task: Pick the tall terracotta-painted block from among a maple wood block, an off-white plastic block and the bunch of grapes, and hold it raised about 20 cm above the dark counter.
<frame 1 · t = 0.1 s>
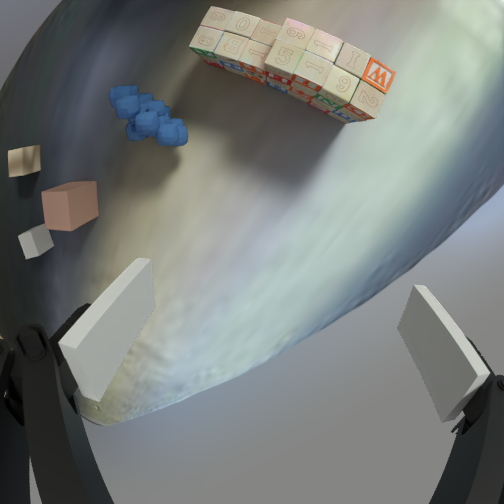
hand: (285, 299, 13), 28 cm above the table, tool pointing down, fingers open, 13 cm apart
terracotta block: (84, 198, 41), on the table
maple block: (32, 158, 38), on the table
grapes: (162, 122, 36), on the table
stack of blocks: (285, 72, 32), on the table
off-white plastic block: (43, 236, 45), on the table
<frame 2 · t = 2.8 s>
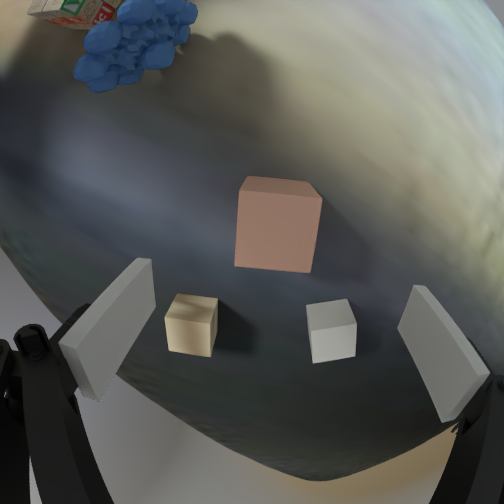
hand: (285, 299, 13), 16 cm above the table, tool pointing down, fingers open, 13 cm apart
terracotta block: (275, 207, 28), on the table
maple block: (197, 312, 34), on the table
grapes: (169, 61, 23), on the table
off-white plastic block: (327, 318, 33), on the table
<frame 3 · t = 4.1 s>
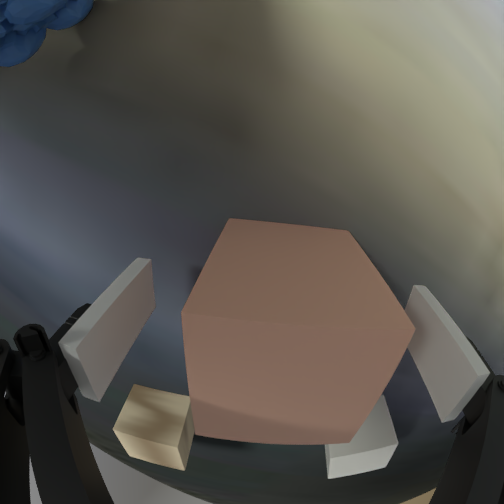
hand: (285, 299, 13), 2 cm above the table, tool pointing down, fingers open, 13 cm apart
terracotta block: (282, 277, 15), on the table
maple block: (166, 406, 21), on the table
grapes: (94, 17, 9), on the table
off-white plastic block: (352, 416, 20), on the table
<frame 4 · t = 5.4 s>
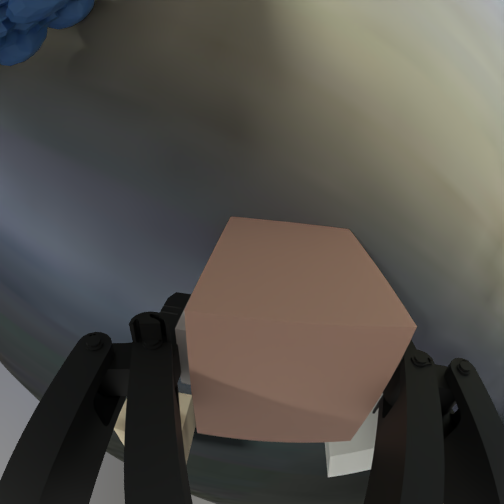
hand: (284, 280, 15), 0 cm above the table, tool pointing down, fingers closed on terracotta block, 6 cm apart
terracotta block: (283, 276, 15), on the table, touching gripper
maple block: (166, 405, 21), on the table
grapes: (95, 16, 9), on the table
off-white plastic block: (352, 414, 20), on the table
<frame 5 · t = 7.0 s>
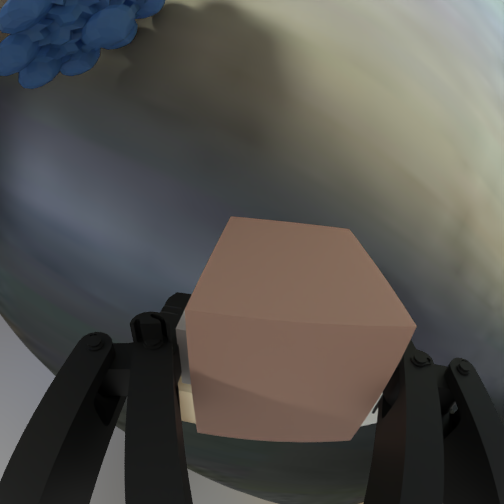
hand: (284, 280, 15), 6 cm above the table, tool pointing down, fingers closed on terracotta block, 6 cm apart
terracotta block: (283, 276, 15), point 5 cm above the table, touching gripper
maple block: (184, 367, 26), on the table
grapes: (138, 41, 15), on the table
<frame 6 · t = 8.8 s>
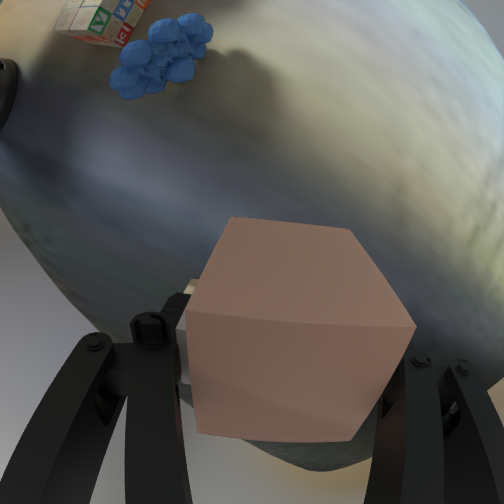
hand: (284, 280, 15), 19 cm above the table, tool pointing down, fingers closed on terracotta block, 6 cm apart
terracotta block: (283, 276, 15), point 19 cm above the table, touching gripper
grapes: (187, 73, 27), on the table
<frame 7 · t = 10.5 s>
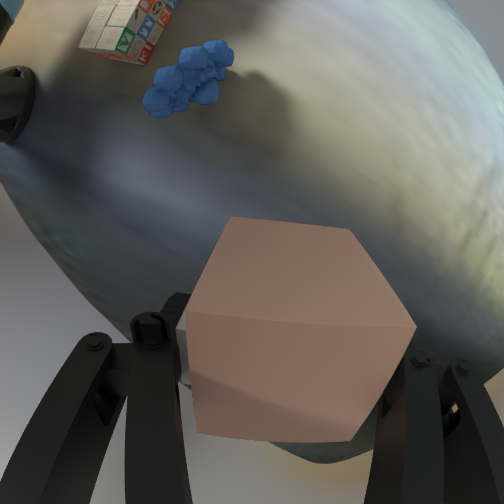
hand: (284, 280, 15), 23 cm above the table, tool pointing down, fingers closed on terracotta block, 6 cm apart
terracotta block: (283, 276, 15), point 23 cm above the table, touching gripper
grapes: (208, 92, 31), on the table
stack of blocks: (160, 3, 26), on the table
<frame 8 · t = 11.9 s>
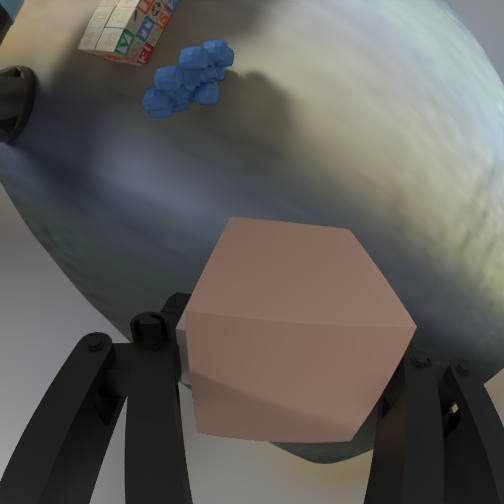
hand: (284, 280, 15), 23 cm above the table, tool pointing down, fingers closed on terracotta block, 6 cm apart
terracotta block: (283, 276, 15), point 23 cm above the table, touching gripper
grapes: (208, 92, 31), on the table
stack of blocks: (160, 4, 26), on the table
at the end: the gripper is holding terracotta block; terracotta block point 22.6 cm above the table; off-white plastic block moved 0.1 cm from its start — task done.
